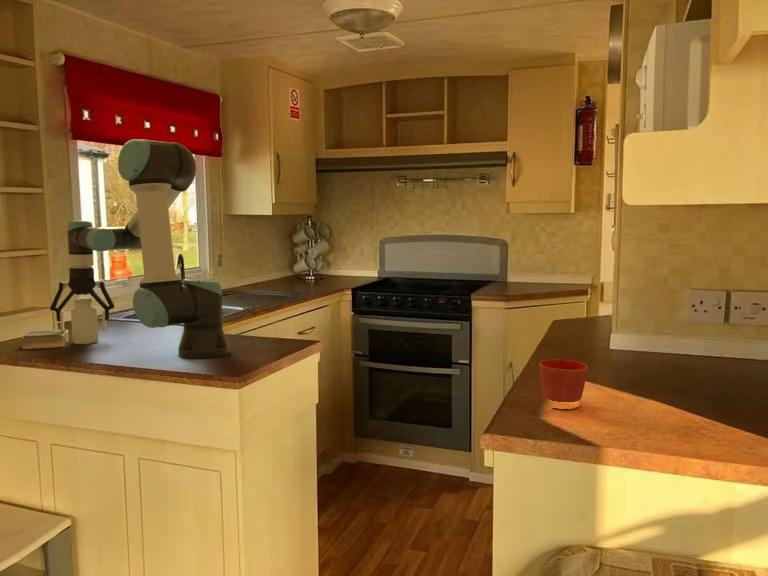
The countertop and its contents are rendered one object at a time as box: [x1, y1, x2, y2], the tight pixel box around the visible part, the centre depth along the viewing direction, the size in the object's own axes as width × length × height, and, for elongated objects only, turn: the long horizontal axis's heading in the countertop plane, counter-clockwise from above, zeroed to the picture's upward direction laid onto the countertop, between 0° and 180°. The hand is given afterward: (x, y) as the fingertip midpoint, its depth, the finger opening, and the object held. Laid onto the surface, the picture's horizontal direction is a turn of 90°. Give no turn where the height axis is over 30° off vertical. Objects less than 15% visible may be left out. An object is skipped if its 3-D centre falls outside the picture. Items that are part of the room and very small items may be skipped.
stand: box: [21, 328, 70, 350], centre depth 217 cm, size 12×12×4 cm
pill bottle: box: [70, 297, 99, 345], centre depth 220 cm, size 8×8×15 cm
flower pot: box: [538, 358, 589, 411], centre depth 149 cm, size 11×11×10 cm
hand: (83, 330), depth 220 cm, fingers open, 12 cm apart
